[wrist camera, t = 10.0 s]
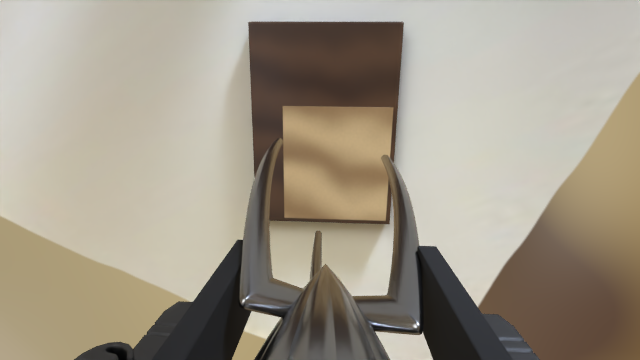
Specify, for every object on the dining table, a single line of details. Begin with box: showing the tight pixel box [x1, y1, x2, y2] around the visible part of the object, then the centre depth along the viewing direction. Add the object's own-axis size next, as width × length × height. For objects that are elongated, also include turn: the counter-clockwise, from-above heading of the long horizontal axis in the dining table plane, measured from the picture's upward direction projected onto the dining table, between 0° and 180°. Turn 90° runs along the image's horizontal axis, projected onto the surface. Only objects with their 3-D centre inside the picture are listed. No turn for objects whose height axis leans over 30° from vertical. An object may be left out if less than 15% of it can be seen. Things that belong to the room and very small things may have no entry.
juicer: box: [238, 138, 424, 360], centre depth 17 cm, size 10×11×30 cm
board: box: [248, 22, 404, 224], centre depth 35 cm, size 22×16×2 cm
